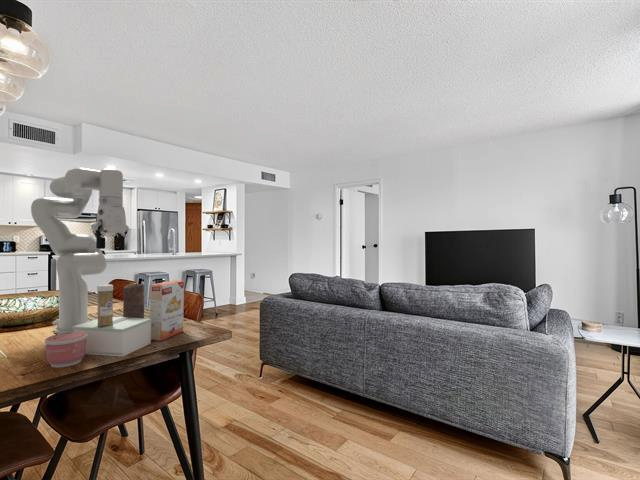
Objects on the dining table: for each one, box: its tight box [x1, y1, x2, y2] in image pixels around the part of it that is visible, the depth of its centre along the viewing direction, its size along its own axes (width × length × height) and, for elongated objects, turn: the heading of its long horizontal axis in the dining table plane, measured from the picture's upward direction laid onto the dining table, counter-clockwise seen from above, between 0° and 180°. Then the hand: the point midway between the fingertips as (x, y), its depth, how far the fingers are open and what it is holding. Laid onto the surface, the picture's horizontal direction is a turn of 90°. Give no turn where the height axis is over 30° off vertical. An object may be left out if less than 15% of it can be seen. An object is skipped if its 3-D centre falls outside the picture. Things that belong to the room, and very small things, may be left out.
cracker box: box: [148, 280, 185, 342], centre depth 134 cm, size 14×6×21 cm, turn 168°
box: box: [74, 322, 152, 358], centre depth 119 cm, size 18×14×8 cm
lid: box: [72, 316, 152, 332], centre depth 119 cm, size 19×14×1 cm
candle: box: [122, 283, 145, 318], centre depth 135 cm, size 8×7×20 cm
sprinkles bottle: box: [96, 283, 114, 326], centre depth 115 cm, size 5×5×14 cm
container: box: [44, 332, 87, 368], centre depth 105 cm, size 10×10×8 cm
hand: (111, 248), depth 129 cm, fingers open, 9 cm apart
